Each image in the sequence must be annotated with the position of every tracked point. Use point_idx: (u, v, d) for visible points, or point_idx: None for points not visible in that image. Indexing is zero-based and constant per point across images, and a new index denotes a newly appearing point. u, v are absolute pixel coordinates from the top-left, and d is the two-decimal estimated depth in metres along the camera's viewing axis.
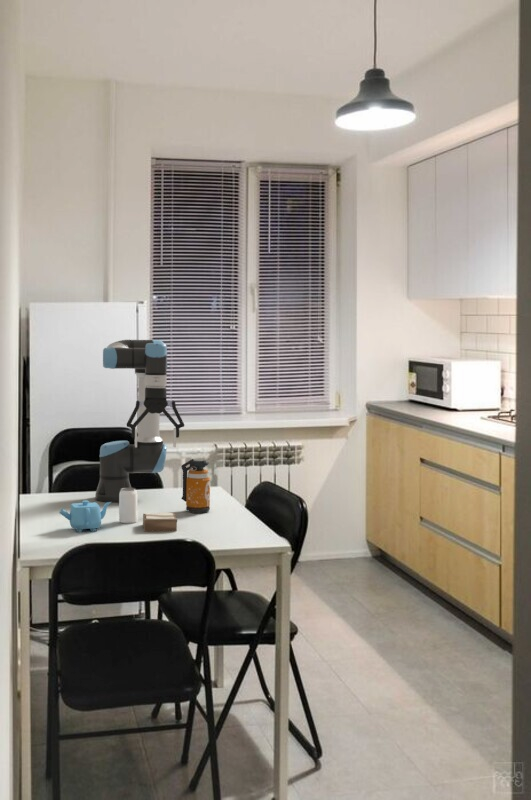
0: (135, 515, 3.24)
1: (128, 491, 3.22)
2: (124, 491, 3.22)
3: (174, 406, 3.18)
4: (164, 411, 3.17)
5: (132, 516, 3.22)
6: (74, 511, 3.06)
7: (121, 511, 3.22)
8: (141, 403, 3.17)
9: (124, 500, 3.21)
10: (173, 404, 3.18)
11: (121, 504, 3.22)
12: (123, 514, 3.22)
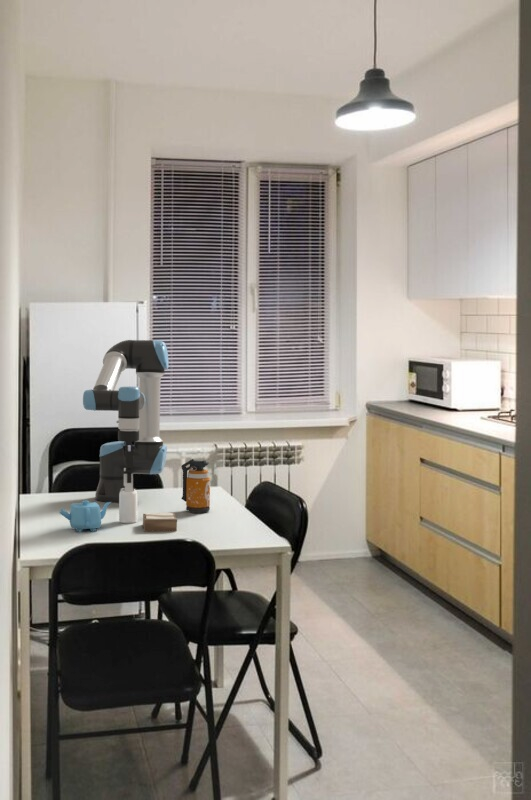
0: (135, 515, 3.24)
1: None
2: (124, 491, 3.22)
3: (125, 450, 3.16)
4: (123, 454, 3.20)
5: (132, 516, 3.22)
6: (74, 511, 3.06)
7: (121, 511, 3.22)
8: None
9: (124, 500, 3.21)
10: (125, 448, 3.17)
11: (121, 504, 3.22)
12: (123, 514, 3.22)
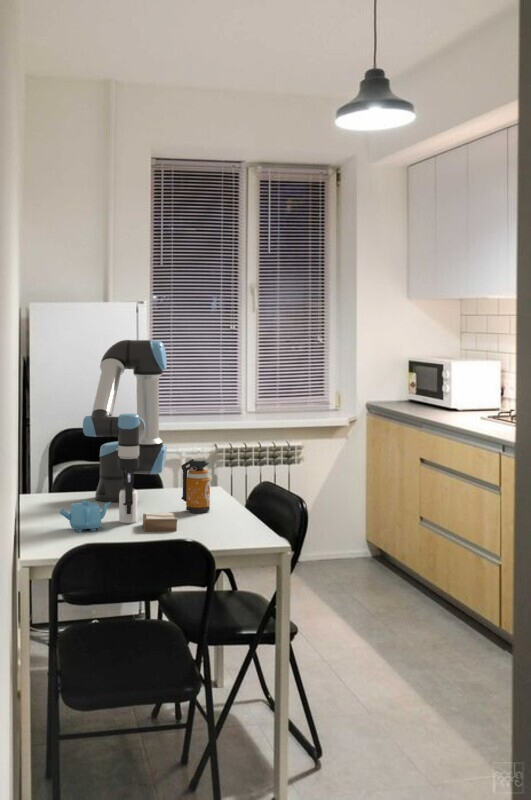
0: (135, 515, 3.24)
1: None
2: (124, 491, 3.22)
3: (125, 482, 3.18)
4: (123, 483, 3.22)
5: None
6: (74, 511, 3.06)
7: (121, 511, 3.22)
8: None
9: (124, 500, 3.21)
10: (125, 479, 3.18)
11: (121, 504, 3.22)
12: (123, 514, 3.22)
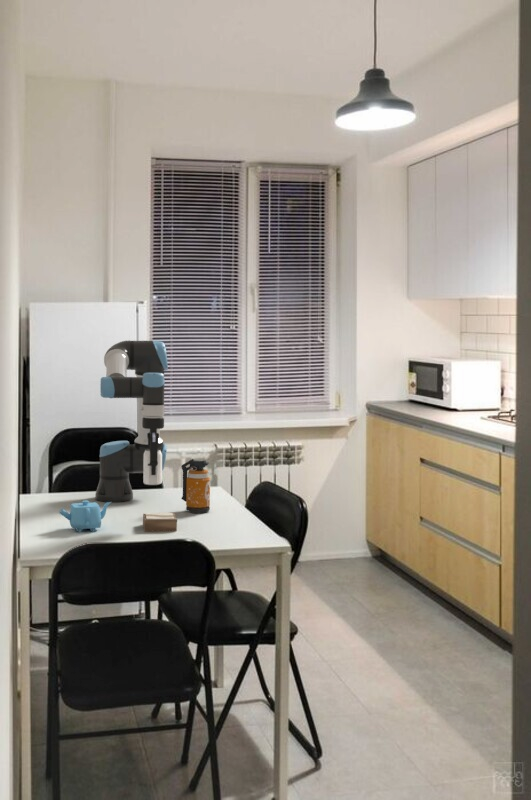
0: (160, 476, 3.15)
1: None
2: (148, 451, 3.13)
3: (150, 441, 3.09)
4: (148, 443, 3.13)
5: None
6: (74, 511, 3.06)
7: (145, 472, 3.14)
8: None
9: (148, 461, 3.13)
10: (150, 439, 3.09)
11: (146, 465, 3.13)
12: (147, 475, 3.13)
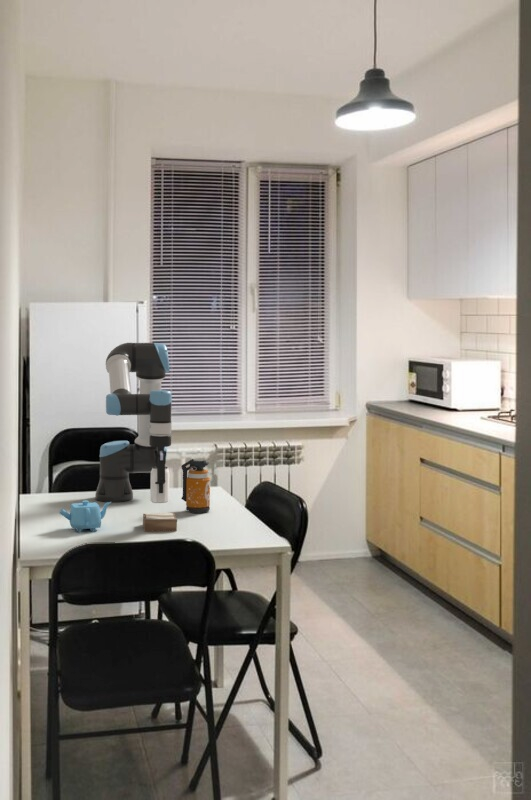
0: (167, 494, 3.14)
1: None
2: (156, 469, 3.12)
3: (158, 459, 3.08)
4: (155, 461, 3.12)
5: None
6: (74, 511, 3.06)
7: (153, 490, 3.13)
8: None
9: (156, 479, 3.12)
10: (157, 457, 3.08)
11: (153, 483, 3.12)
12: (155, 493, 3.12)
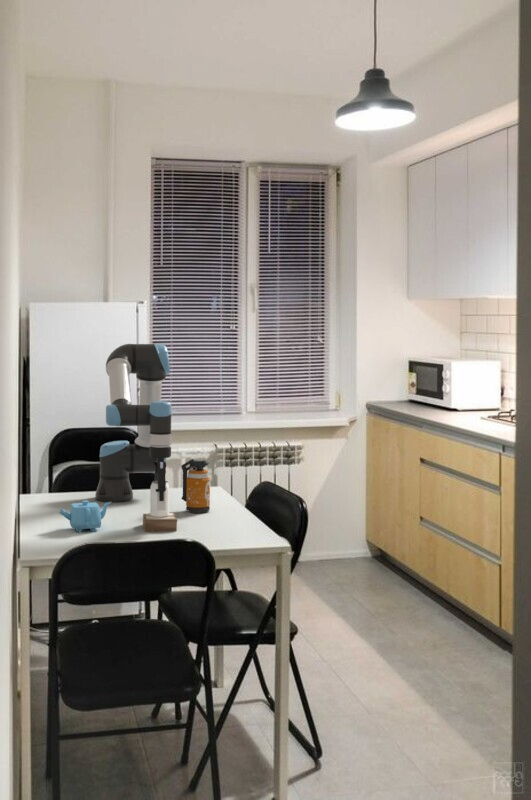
0: (167, 509, 3.14)
1: None
2: (156, 484, 3.13)
3: (158, 468, 3.08)
4: (155, 471, 3.12)
5: (164, 510, 3.13)
6: (74, 511, 3.06)
7: (152, 505, 3.13)
8: None
9: (156, 493, 3.12)
10: (157, 465, 3.08)
11: (153, 497, 3.13)
12: (155, 507, 3.13)
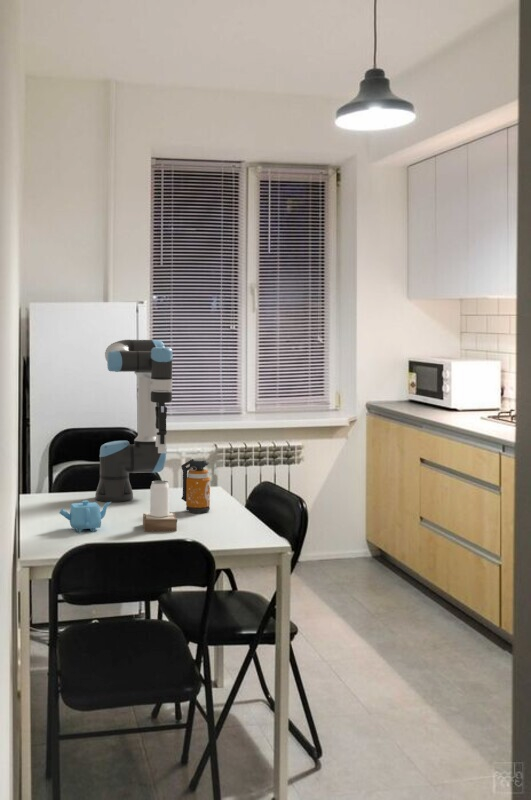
0: (167, 509, 3.14)
1: (160, 484, 3.12)
2: (156, 484, 3.13)
3: (158, 412, 3.15)
4: (156, 415, 3.19)
5: (164, 510, 3.13)
6: (74, 511, 3.06)
7: (152, 505, 3.13)
8: None
9: (156, 493, 3.12)
10: (158, 409, 3.15)
11: (153, 497, 3.13)
12: (155, 507, 3.13)
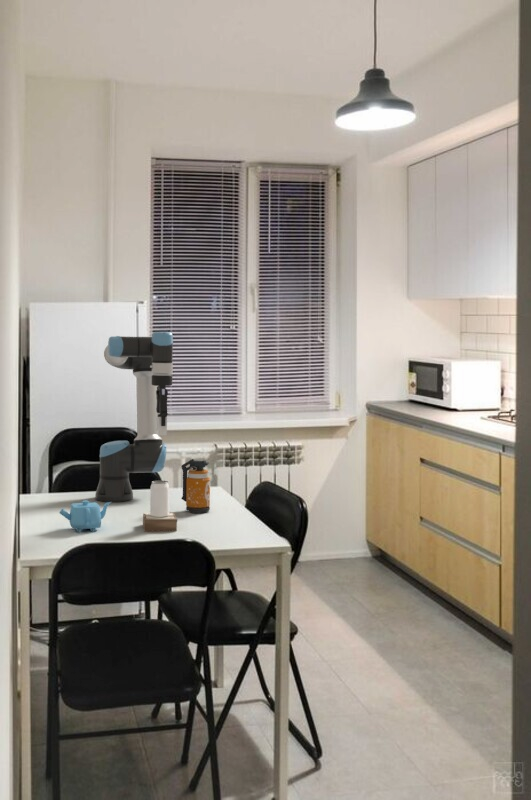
0: (167, 509, 3.14)
1: (160, 484, 3.12)
2: (156, 484, 3.13)
3: (159, 394, 3.21)
4: (157, 398, 3.25)
5: (164, 510, 3.13)
6: (74, 511, 3.06)
7: (152, 505, 3.13)
8: None
9: (156, 493, 3.12)
10: (159, 392, 3.21)
11: (153, 497, 3.13)
12: (155, 507, 3.13)
